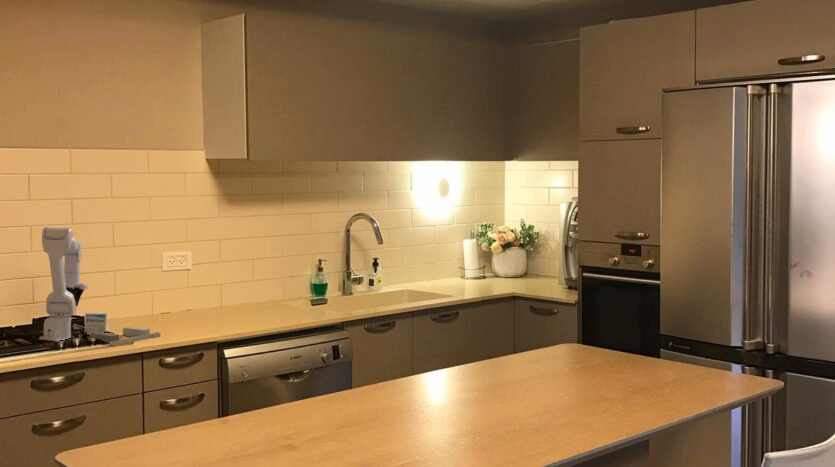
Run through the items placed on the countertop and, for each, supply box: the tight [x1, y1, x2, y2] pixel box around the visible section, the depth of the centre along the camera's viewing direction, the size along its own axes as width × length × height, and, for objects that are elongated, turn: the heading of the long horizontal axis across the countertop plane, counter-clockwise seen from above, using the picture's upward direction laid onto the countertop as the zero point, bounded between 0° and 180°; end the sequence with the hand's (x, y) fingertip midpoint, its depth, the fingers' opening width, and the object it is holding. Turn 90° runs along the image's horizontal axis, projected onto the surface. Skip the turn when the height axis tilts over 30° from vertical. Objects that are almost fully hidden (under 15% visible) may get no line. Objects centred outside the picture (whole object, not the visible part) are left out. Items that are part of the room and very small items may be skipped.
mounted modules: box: [90, 325, 151, 345], centre depth 355 cm, size 21×10×3 cm, turn 155°
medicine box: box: [84, 312, 108, 333], centre depth 360 cm, size 8×4×9 cm, turn 106°
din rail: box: [109, 332, 161, 347], centre depth 351 cm, size 26×2×2 cm, turn 155°
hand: (71, 306), depth 365 cm, fingers open, 3 cm apart
